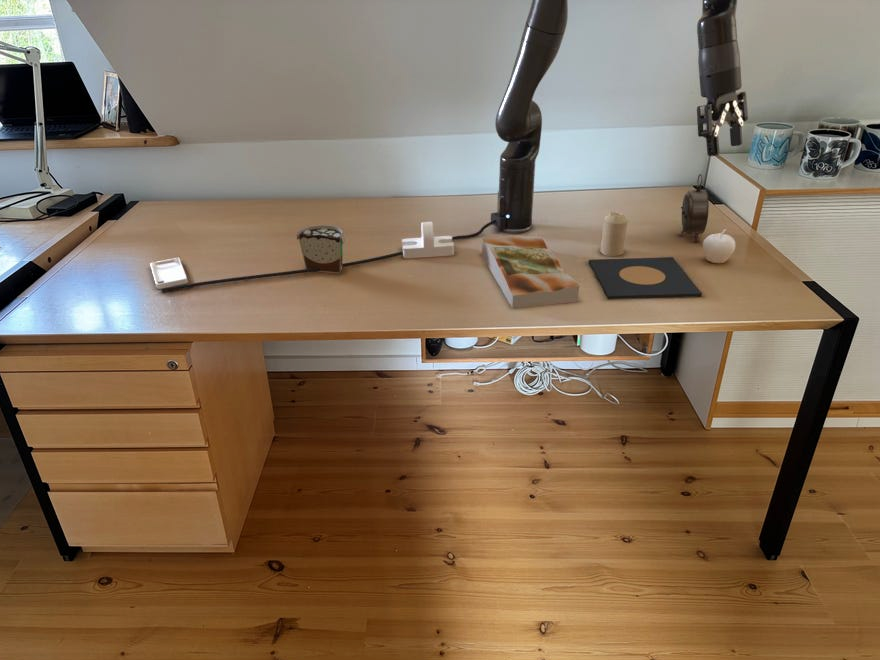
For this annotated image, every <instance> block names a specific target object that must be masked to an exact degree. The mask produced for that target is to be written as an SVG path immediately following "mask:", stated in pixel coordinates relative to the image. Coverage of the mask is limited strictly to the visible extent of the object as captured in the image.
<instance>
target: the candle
mask: <svg viewBox="0 0 880 660" xmlns="http://www.w3.org/2000/svg"><path fill="white" fill-rule="evenodd" d="M628 222H629V219H628V218H627V217H626V215H625V214H624V213H618V212H612V211H611V212H610V213H608V215H606V216H605V217H604V219H603V225H602V234H601V242H600V253H601V254H603V255H604V256H607V257H608V256H609V257H619V256H621V255H623V254H624V251H625V242H626V235H627V229H628V228H627V227H628Z"/></svg>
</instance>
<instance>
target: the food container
mask: <svg viewBox="0 0 880 660" xmlns="http://www.w3.org/2000/svg"><path fill="white" fill-rule="evenodd" d="M296 240H298V241H299V245H300V250H301V254H302V259H303V262H304V263H303V264H304V267H305V269H310V268H320V271H316V272H317V273H329V274H337V275H341V274H342V273H343V267H342V264H343V245H344V244H345V243H346V237H345V235H344V232H343V230H342V229H341V228H339V227H337V226H334V225H326V224H325V225H323V224H322V225H312V226H307V227H304V228H302V229H300V230H298V231H297V234H296Z"/></svg>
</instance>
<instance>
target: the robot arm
mask: <svg viewBox="0 0 880 660" xmlns="http://www.w3.org/2000/svg"><path fill="white" fill-rule="evenodd" d="M568 1H569V0H531V4H530V8H529V11H528V15H527V18H526V21H525V23H524V27H523V31H522V34H521V38H520V43H519V46H518V49H517V50H518V51H517V54H516V56H515V60H514V64H513V67H512V71H511V75H510V78H509V81H508V84H507V87H506V89H505V92H504V95H503V96H502V99H501V102H500V104H499V106H498V110H497V113H496V117H495V131H496V134H497V136H498V137H499V138H500V139H501V140H502V141H503V142H506V143H507V145H506V147H505V148H504V150H503V151H502V152H501V154H500V156H499V172H498V173H499V175H498V176H499V177H498V178H499V179H498V191H497V207H496V208H497V209H496V211H495V212H491V213H490V221H489V222H487V223H486V224H484V225H483V226H482V227H481V228H480V229H479V230H478V231H477V232H474V233H471V234H465V235H454V236H451V237H452V241H455V240H461V239H469V238H474V237H477V236H479V235H480V234H482V233H483V232H484V231H485V229H487V228H488V227H491V226H492V225H493V226H494V227H496V228H497V229H498V230H497V231H498V232H499V233H507V234H523V233H527V232H529V231H531V230H532V228H533V211H534V210H533V208H534V191H535V175H536V162H537V161H536V160H537V158H538V155H539V153H540V147H541V138H542V128H543V115H542V111H541V108H540V106H539V104H538V103H537V102H536V101H534V100H533V99H534V96H535V92H536V90H537V89H538V86H539V84H540V83H541V82H542V80H543V78H544V77H545V75H546V74H547V72H548V71H549V69H550V67H551V66H552V65H553V63H554V61H555V59H556V57H557V55H558V54H559V50H560V48H561V45H562V42H563V39H564V36H565V32H566V29H567V26H568V25H567V24H568V19H569V5H568V4H569V3H568ZM701 7H702V9H701V12H702V13H701V17H700V18H699V19H698V20H697V24H696V35H697V45H698V46H697V47H698V48H697V49H698V56H697V63H698V66H697V67H698V77H699V91H700V97H702V98H706V104H703V105H698V106H697V107H696V119H697V121H696V122H697V136H698V137H699V138H704V139H705V142H706V153H707V156H708V157H716V156H718V155H720V141H719V136H718V135H719V132H720V129H721V127H722V126H724V122H726V123H727V124H728V127H729V140H730V146H731V147H739V146H742V145H743V128H742V127H743V126H744V125H745V124H744V123H745V122H748V121H749V111H748V102H747V93H746V91H740V92H738V91H739V90H740V89H742V88H743V87H742V70H741V69H742V68H741V54H740V47H739V43H738V41H739V40H738V29H737V28H738V27H737V18H736V14H737V7H738V0H702V6H701ZM704 126H705V128H704ZM398 256H403V250H402V251H397V252H394V253H389V254H386V255H381V256H376V257H371V258H366V259H362V260H355V261H351V262H344V263H342V268H345V267H350V266H357V265H363V264H366V263H367V264H368V263H371V262H376V261H380V260H381V261H382V260H386V259H390V258H394V257H398ZM317 271H320V268H310V269H306V268H303V269H296V270H287V271H278V272H271V273H270V272H269V273H262V274H254V275H246V276H237V277H229V278H222V279H221V278H220V279H214V280H205V281H200V282H192V283H186V284H181V285H176V286H171V287H167V288H162V289H161V292H162V293H165V292H170V291H176V290H182V289H187V288H194V287H200V286H207V285H214V284H216V285H217V284H222V283H223V284H224V283H230V282H238V281H246V280H254V279H265V278H272V277H281V276H289V275H296V274H304V273H312V272H317Z"/></svg>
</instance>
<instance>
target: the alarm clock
mask: <svg viewBox="0 0 880 660" xmlns="http://www.w3.org/2000/svg"><path fill="white" fill-rule="evenodd" d="M703 177H704V176H703V174H702V173H700V174H698V176H697V181H696V184H697V185H696V189H691V190H688V191H687V192H686V193H685V194H684V197H683V199H682V204H681V205H682V206H680V209H681V226H682V229H681V232H680V234H679V235H680V236H682V235H683V234H684V233H685V234H686V235H694V239H695V240H694V242H695V243H698V242H699V241H698V240H699V235H700V234H701V235H702V234H704V233H705V231H706V228H707V224H708V218H709V210H710V209H709V207H710V205H709V204H710V203H709V194H708V191H707V190H706V189H701V188H702V185H703V184H702V183H703ZM699 181H700V183H699Z"/></svg>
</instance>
